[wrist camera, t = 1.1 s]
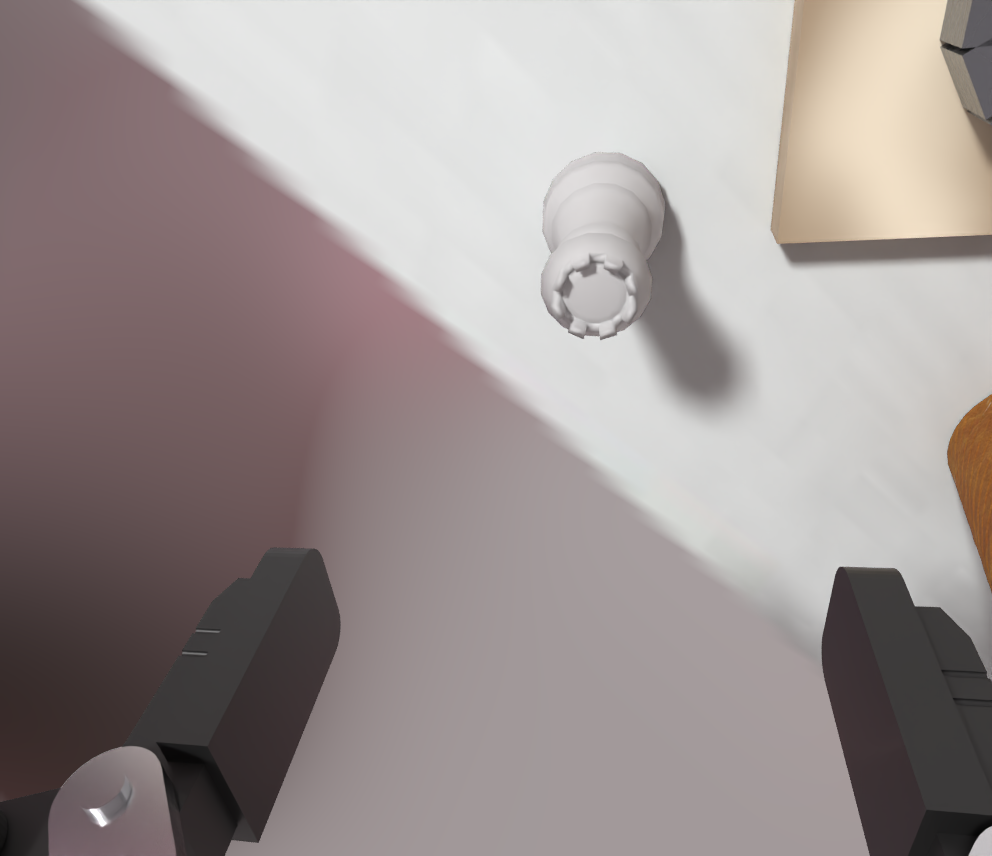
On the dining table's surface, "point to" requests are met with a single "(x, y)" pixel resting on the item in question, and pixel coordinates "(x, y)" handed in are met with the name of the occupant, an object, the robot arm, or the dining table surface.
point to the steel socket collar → (970, 53)
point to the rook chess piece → (600, 243)
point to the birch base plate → (877, 129)
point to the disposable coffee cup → (975, 475)
